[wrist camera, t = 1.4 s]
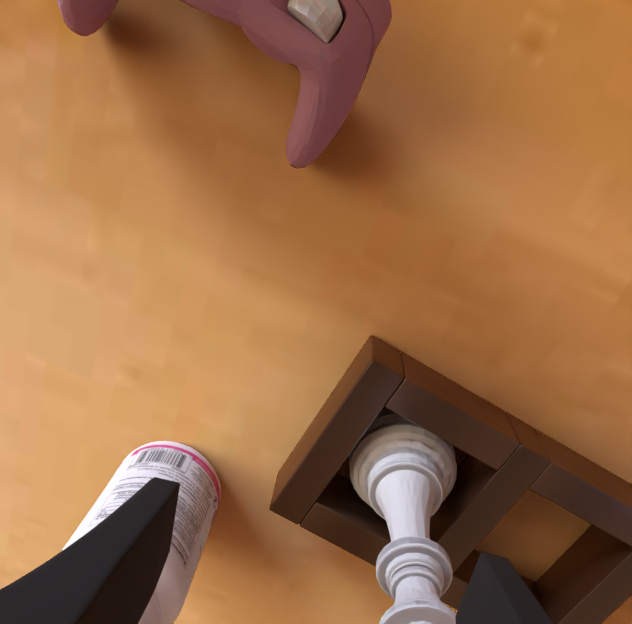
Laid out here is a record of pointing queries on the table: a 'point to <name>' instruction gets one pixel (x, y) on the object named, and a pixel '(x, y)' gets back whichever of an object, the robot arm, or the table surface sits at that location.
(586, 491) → the stand
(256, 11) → the video game controller
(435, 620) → the chess piece
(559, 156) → the table surface
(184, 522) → the pill bottle
